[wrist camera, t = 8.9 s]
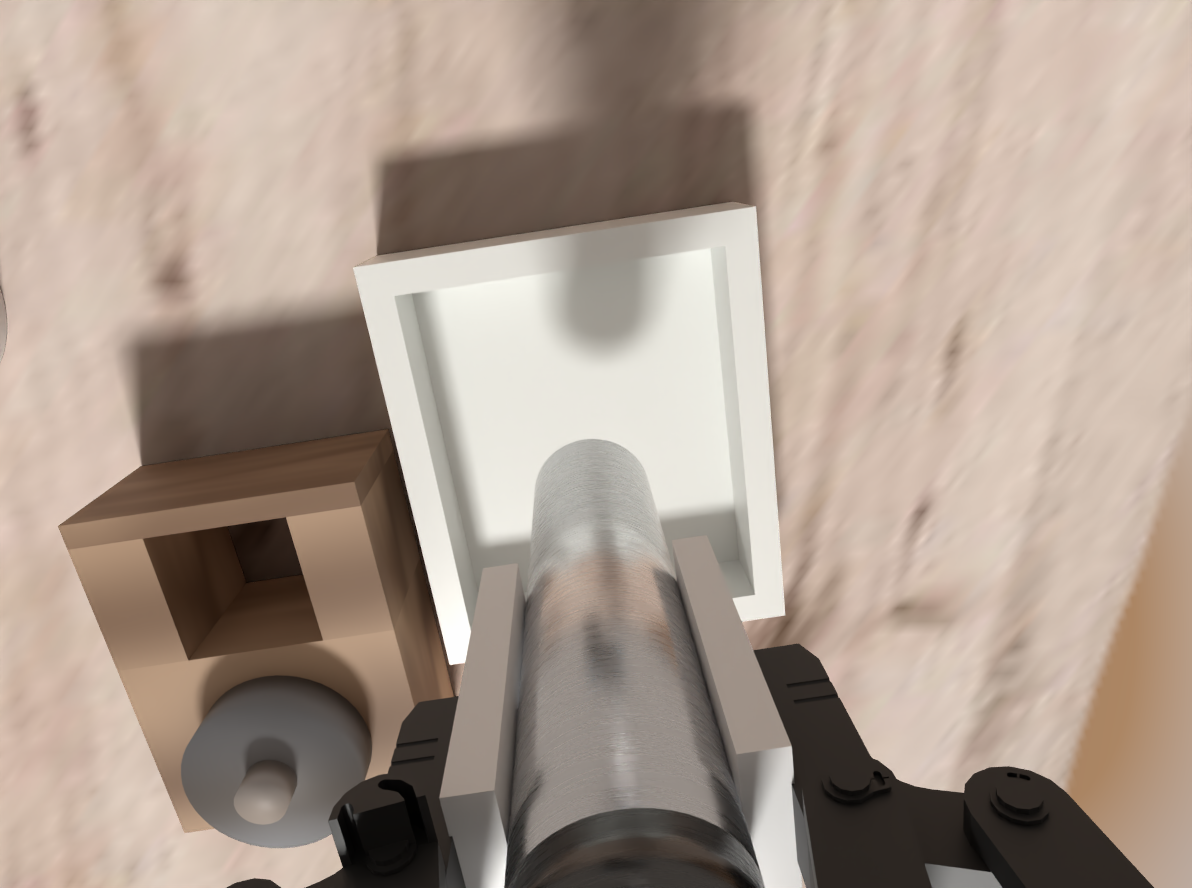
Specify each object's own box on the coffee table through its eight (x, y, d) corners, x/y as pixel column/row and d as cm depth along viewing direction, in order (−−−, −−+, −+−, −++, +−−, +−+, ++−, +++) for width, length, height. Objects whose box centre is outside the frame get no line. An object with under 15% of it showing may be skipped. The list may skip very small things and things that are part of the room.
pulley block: (141, 466, 28) (0, 568, 21) (388, 429, 28) (330, 518, 21) (239, 735, 32) (148, 897, 25) (455, 703, 32) (426, 856, 25)
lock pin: (525, 448, 23) (468, 918, 8) (641, 430, 23) (781, 871, 8) (544, 552, 24) (523, 1122, 10) (655, 536, 24) (800, 1082, 10)
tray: (376, 255, 26) (353, 267, 23) (733, 201, 26) (755, 206, 23) (460, 616, 31) (449, 664, 28) (763, 571, 31) (785, 615, 28)
